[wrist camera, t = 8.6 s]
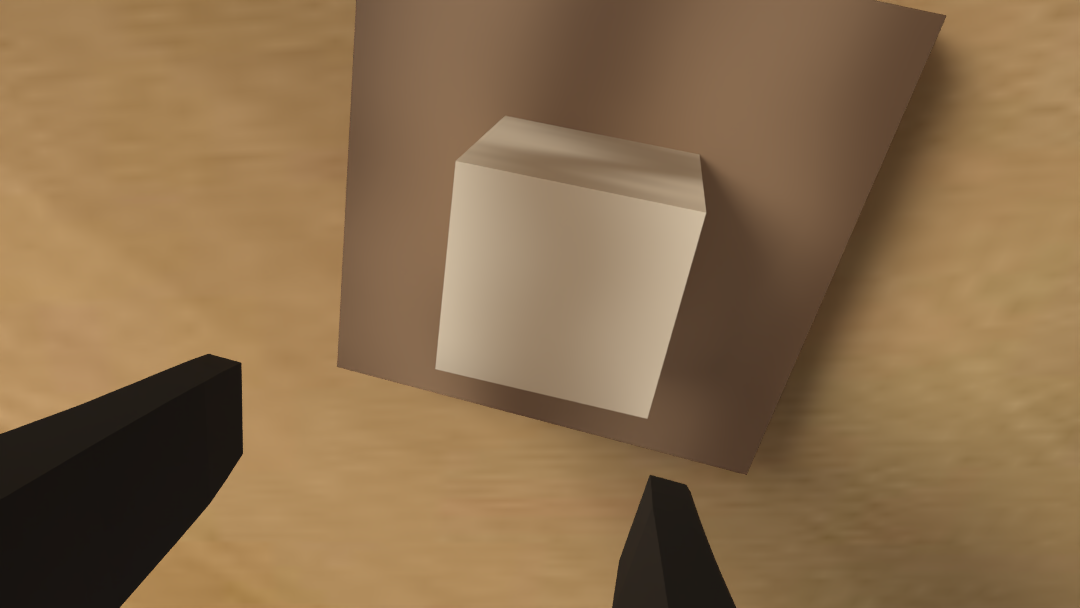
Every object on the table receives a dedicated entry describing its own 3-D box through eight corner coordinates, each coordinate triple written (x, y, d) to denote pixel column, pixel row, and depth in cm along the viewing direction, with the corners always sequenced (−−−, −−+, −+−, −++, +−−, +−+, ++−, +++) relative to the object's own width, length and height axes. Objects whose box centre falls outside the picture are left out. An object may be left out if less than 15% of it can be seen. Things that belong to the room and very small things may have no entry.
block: (699, 154, 15) (706, 212, 12) (653, 325, 17) (647, 418, 14) (505, 116, 16) (455, 160, 12) (483, 288, 18) (435, 368, 14)
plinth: (908, 7, 16) (946, 15, 13) (739, 421, 21) (746, 474, 19) (404, -99, 16) (361, -108, 14) (370, 326, 22) (337, 366, 20)
